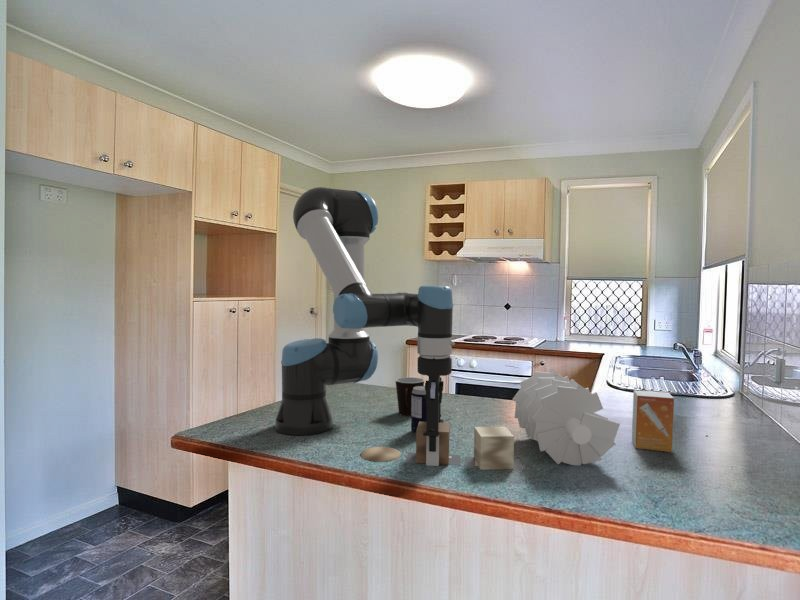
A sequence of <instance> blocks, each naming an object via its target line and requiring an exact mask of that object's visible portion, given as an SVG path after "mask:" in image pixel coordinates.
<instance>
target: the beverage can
mask: <svg viewBox="0 0 800 600" xmlns="http://www.w3.org/2000/svg"><path fill="white" fill-rule="evenodd" d="M410 417H411V419H410V422H411V423H410V425H411V426H410V431H411V432H412V433H413V434H415V435H416V430H417V427H418V423H419V422H427V403H426V391H425V385H424V386H416V387H413V391H412V400H411V416H410Z"/></svg>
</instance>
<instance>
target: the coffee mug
mask: <svg viewBox="0 0 800 600" xmlns="http://www.w3.org/2000/svg"><path fill="white" fill-rule="evenodd" d="M416 386H425V379H424V378H420V377H411V376H409V377H408V376H407V377H406V376H405V377H397V378H396V379H395V388H396V396H397V397H396V399H397V407H398V408H397V409H398V414H399V415H400V414H401V415H400V416H404V415H405V417H411V400H412V391H413V387H416Z"/></svg>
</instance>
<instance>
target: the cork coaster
mask: <svg viewBox="0 0 800 600" xmlns="http://www.w3.org/2000/svg"><path fill="white" fill-rule="evenodd" d="M401 455H402V454H401V451H400V450H398V449H396V448H394V447H388V446H373V447H369V448H366V449H363V450H362V451H361V452H360V456H361V458H362V459H364V460H367V461H370V462H375V463H377V462H378V463H380V462H381V463H382V462H391V461H394V460H398V459H399V458H400V457H401Z"/></svg>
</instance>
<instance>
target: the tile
mask: <svg viewBox="0 0 800 600" xmlns="http://www.w3.org/2000/svg"><path fill="white" fill-rule="evenodd" d="M461 456H462V455H461V454H450V453H449V464H448V465H449V466H459V467H460V466H461V461H462V460H461ZM405 457H406V458H405V461H404V463H405V464H407V463H408V464H409V463H410V464H417V463H416V452H409V451H408V452H407V455H406V456H405ZM421 464H425V465H426V463H421ZM440 465H443V466H444V465H445V466H448V465H447V464H440Z"/></svg>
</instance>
